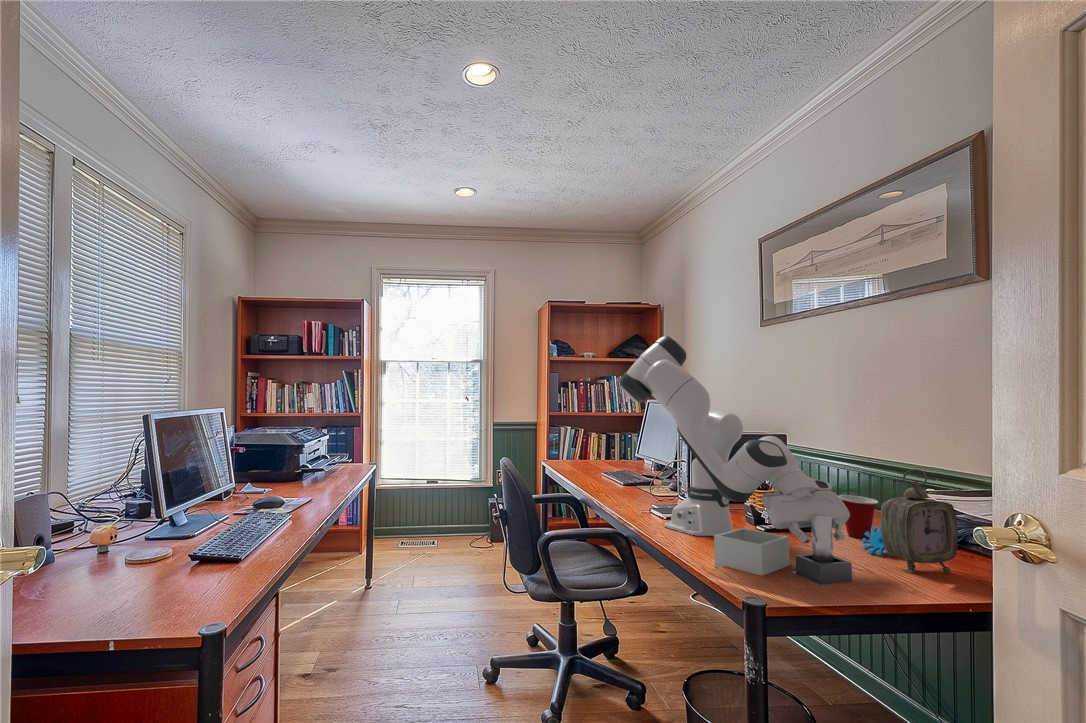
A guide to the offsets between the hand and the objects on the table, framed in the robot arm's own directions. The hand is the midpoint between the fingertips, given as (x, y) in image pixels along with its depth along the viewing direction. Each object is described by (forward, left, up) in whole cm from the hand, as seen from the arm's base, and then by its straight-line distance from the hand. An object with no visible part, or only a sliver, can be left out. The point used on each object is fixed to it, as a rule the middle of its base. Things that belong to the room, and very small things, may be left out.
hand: (823, 540), depth 133 cm
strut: (-1, 0, -8) cm, 8 cm away
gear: (0, +35, -10) cm, 36 cm away
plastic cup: (-13, +50, -10) cm, 53 cm away
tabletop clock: (+11, +24, -10) cm, 28 cm away
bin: (-17, -4, -9) cm, 19 cm away
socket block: (-1, 0, -9) cm, 9 cm away
